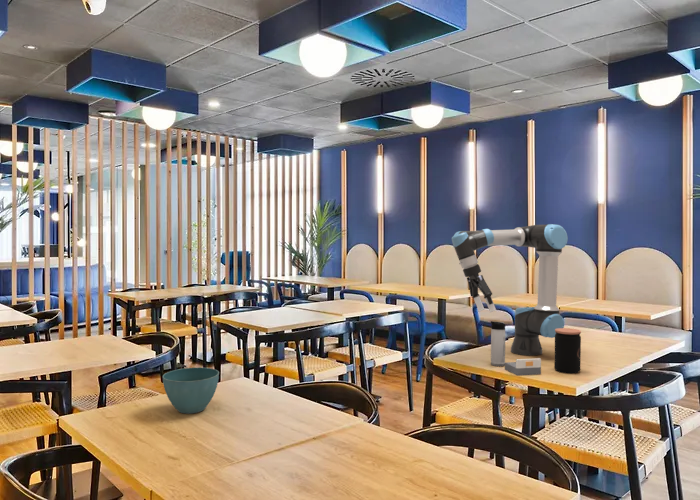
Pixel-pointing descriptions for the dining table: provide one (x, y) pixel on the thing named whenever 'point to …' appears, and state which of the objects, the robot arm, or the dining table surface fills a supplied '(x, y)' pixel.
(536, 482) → the dining table surface
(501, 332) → the travel mug
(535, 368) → the display riser
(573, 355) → the coffee jar
